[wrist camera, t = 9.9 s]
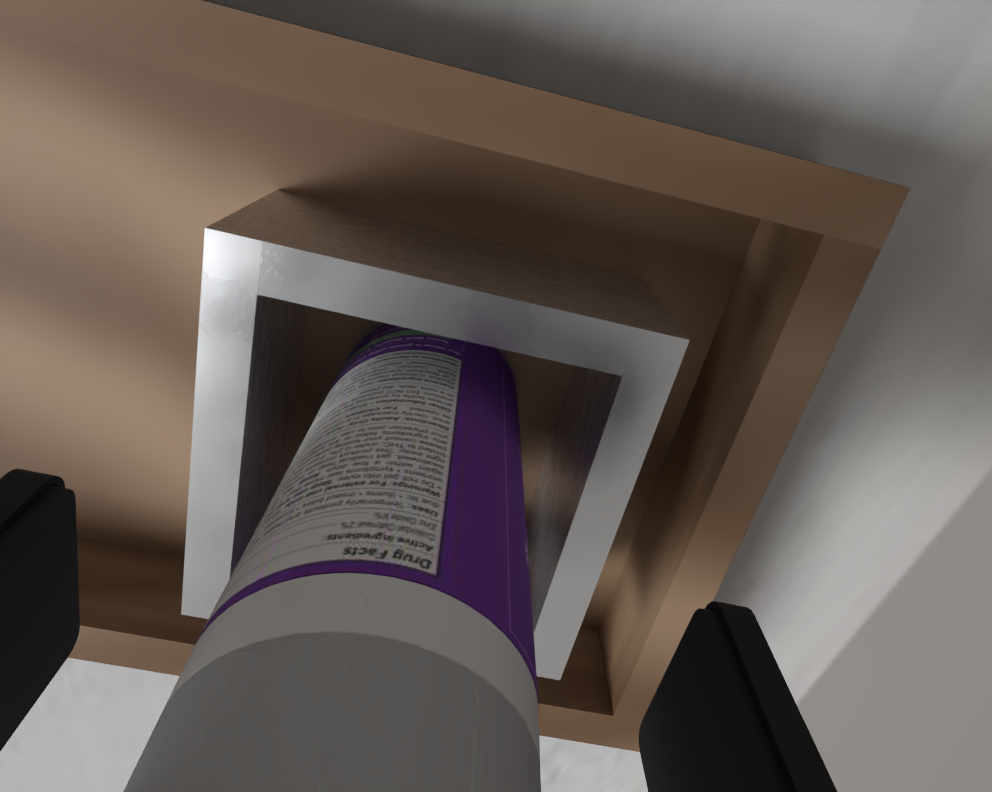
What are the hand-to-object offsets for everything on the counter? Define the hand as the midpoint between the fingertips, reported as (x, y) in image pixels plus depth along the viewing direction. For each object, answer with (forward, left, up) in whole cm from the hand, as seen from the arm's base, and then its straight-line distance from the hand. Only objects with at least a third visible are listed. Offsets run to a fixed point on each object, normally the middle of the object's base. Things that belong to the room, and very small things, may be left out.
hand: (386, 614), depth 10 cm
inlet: (0, 0, -9) cm, 9 cm away
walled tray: (0, -4, -9) cm, 10 cm away
